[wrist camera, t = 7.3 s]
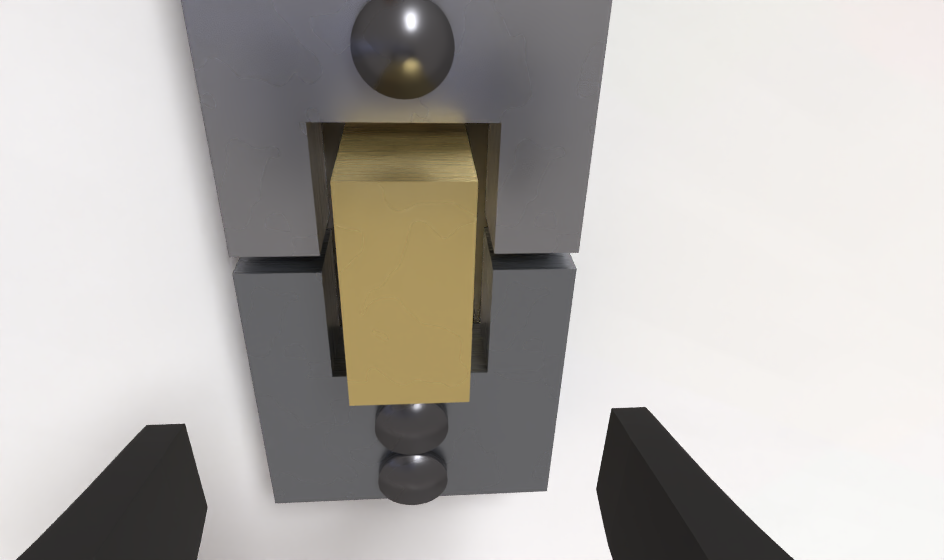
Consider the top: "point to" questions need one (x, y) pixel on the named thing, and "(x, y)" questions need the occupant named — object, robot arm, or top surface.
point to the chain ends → (309, 242)
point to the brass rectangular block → (406, 260)
